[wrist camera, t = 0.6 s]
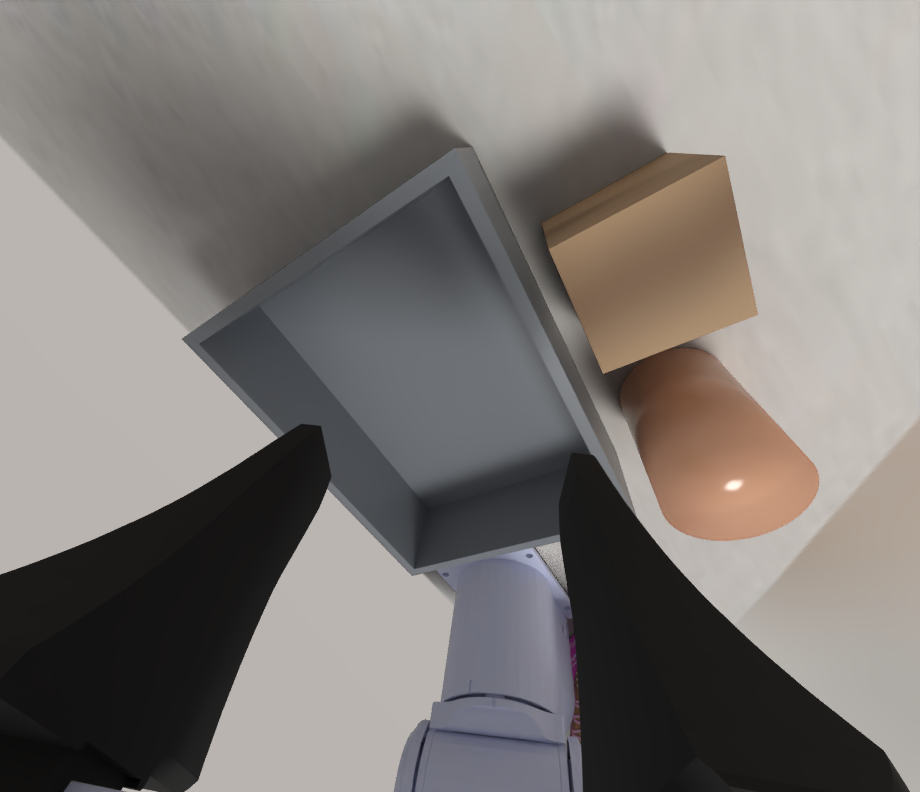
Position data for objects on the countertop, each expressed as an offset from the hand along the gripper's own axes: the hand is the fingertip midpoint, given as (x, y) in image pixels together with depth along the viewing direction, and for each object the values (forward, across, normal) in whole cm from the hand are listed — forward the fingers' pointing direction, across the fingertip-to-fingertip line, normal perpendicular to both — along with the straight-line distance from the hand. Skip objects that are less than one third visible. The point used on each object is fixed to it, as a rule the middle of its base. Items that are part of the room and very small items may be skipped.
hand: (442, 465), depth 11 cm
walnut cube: (+10, -6, -4) cm, 12 cm away
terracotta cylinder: (+10, -10, +2) cm, 14 cm away
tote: (+10, +2, +3) cm, 10 cm away
